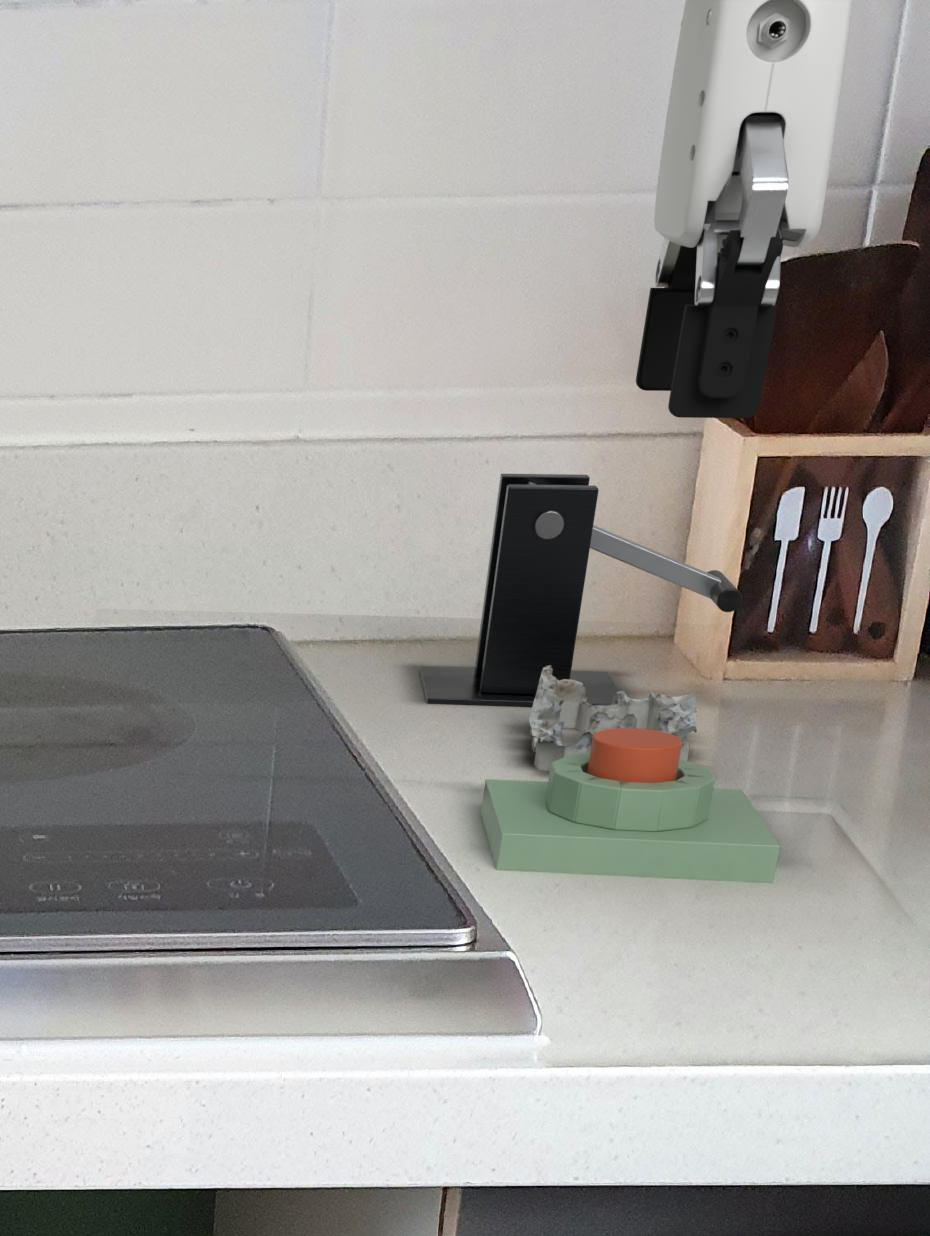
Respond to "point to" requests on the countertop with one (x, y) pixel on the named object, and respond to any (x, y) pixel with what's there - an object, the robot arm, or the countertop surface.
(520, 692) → the bracket
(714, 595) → the lever
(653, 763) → the button
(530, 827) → the button box
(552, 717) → the egg carton
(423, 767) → the countertop surface
